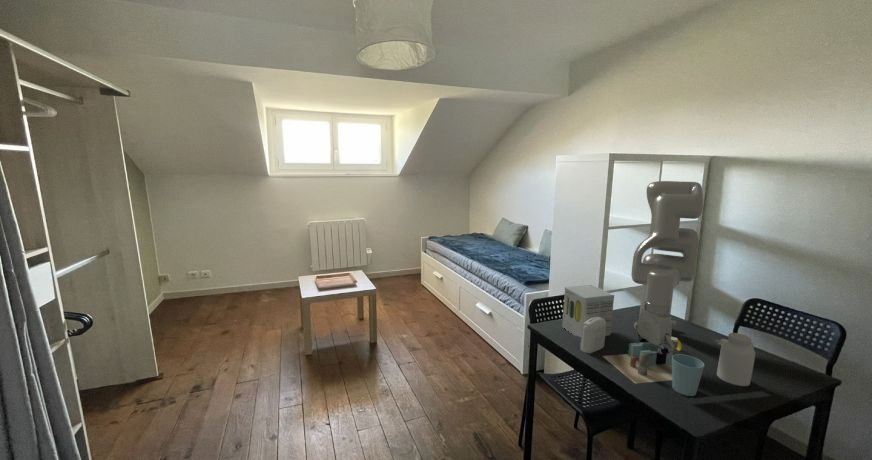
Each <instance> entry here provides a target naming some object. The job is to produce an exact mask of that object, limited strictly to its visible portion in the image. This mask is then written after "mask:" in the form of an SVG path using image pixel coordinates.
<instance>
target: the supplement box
mask: <svg viewBox="0 0 872 460" xmlns="http://www.w3.org/2000/svg"><path fill="white" fill-rule="evenodd" d="M614 300H615V294H612V293H610V292H608V291H606V290H604V289H602V288H599V287H597V286H595V285H594V284H583V285H574V286H565V287H564V297H563V310H562V311H563V312H562V313H563V314H562V328H563V329H564V328H565V329H566V331H567V332H568V331H569V332H568V333H570V334H571V333H572V334H571V335H572V336H573V337H579V338H581V332H582V325H583V324H584V323H585V322H586V321H587V320H589V319H591V318H594V317H600V318H603V319H604V320H605V321H606V332H605V337H607V336H611V332H612V321H613V312H614ZM565 329H564V330H565Z"/></svg>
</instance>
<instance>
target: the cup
mask: <svg viewBox="0 0 872 460" xmlns="http://www.w3.org/2000/svg"><path fill="white" fill-rule="evenodd" d="M704 369H705V363H704V362H703V361H702V360H701V359H699V358H697V357H694V356H692V355H688V354H683V353H675V354H673V355H672V380H671V388H672V389H673V390H674V391H675V392H676V393H679V394H680V395H683V396H687V397H688V398H687V400H693V399H695V397H694V396H696V395H697V392H698V389H699V386H700V381H701V379H702V375H703V372H704Z"/></svg>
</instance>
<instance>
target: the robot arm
mask: <svg viewBox="0 0 872 460" xmlns="http://www.w3.org/2000/svg"><path fill="white" fill-rule="evenodd" d="M646 198H647V199H646V200H647V203H648V206H649V209H650V213H651V221H650V229H649V230H650V231H649V236H647V237H646V238H645V239H644V240H642V241H641V242H640V243H639V245H638V246H637V247H636V248H635V250H634V254H633V256H632V257H633V258H632V266H631V275H630V276H631V279H632V281H633V282H634V283H636V284H637V285H642V287H641V288H642V289H641V299H640V308H639V317H638V321H637V320H636V321H635V322H634V323H633V328H635V330H636V332H637V336H638V341H639V342H638V343H642V342H651V343H652V344H654V345H656V346H657V348H658V352H659V353H657V357H656V364H657V365H662V364H666V357H667V354H669V353H670V352H671V351H674V350H675V349H676V346H675V345H674V342H672V341H671V337H672V330H673V329H672V327H674V326H677V324H678V323H677V320H672V315H671V312H672V303H673V297H674V296H673V295H674V289H675V288H676V287H677V286H678V285H679V284H680V282H684V283H685V282H686V283H689V282H693V280H694V279H695V277H696V273H697V265H698V255H699V242H700V241H699V234H698V232H697V231H696V230H695V229H693V228H687V227H686V228H685V227H680V226H681V224H680V223H681V219H691V220H697V219H698V218H700V217H701V216H702V213H703V210H704V194H703V187H702V185H701V183H700V182H697V181H681V180H680V181H677V180H676V181H675V180H674V181H673V180H660V181H653V182H650V183H649V184H648V185H647V186H646ZM650 249H653V250H656V251H663V252H669V253H670V252H671V253H672V252H673V253H679V254H682V255H681V256H680V255H672V254H664V253H649V254H646V255H645V256H644V254H645V253H646V251H648V250H650ZM643 256H644V257H643ZM667 345H668V346H667ZM661 346H663V347H664V349H662V347H661Z"/></svg>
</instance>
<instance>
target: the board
mask: <svg viewBox="0 0 872 460" xmlns="http://www.w3.org/2000/svg"><path fill="white" fill-rule="evenodd" d="M602 358H604V359H605V360H606V361H608V363H609V364H611V366H613V367H615V369H617V370H619V371H620V372H621V373H622V374H623V375H624V376H625V377H626V378H628V379H629V380H630V381H631V382H632V383H633V384H635V385H636V384H647V383H656V382H667V381H672V363H671V364H670V365H658V366H648V359H649V355H648V354H647V353H644V352H641V353H640V358H636V357H634V356H631V357H629V356H628V353H626V354H623V353H622V354H611V355H602Z"/></svg>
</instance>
